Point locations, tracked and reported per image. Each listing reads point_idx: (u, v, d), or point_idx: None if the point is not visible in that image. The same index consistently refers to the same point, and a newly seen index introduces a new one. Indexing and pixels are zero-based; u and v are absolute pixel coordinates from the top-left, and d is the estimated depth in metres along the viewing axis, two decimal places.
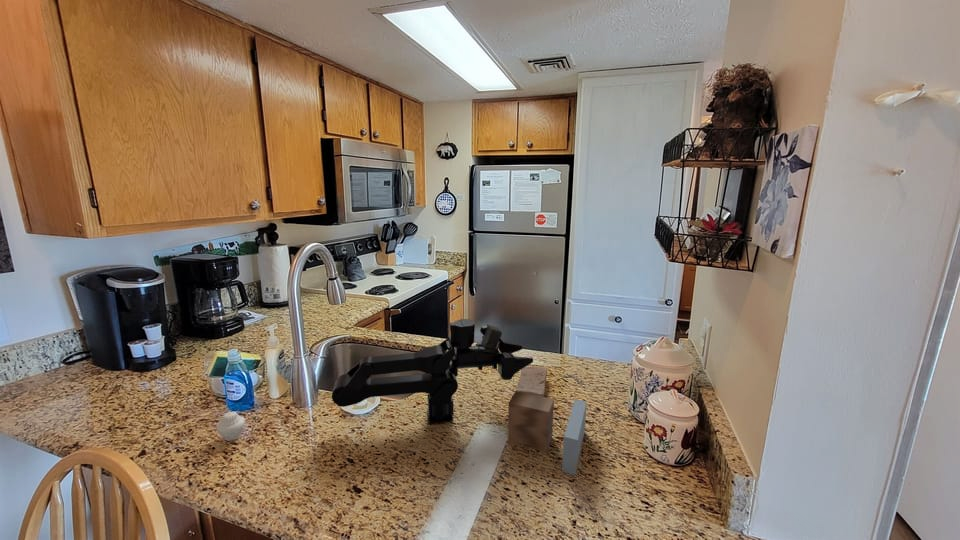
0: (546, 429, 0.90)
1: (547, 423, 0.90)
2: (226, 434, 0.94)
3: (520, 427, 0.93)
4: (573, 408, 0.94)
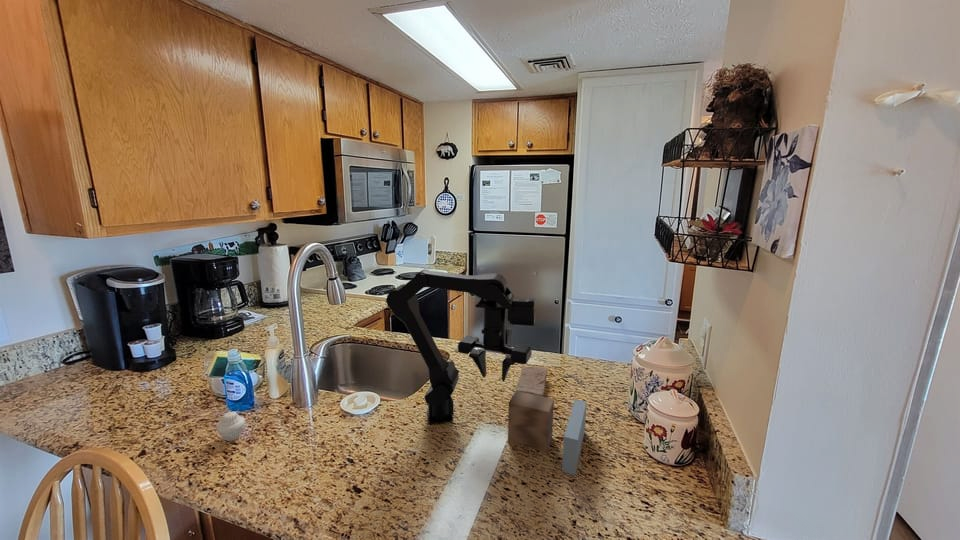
0: (546, 429, 0.90)
1: (547, 423, 0.90)
2: (226, 434, 0.94)
3: (520, 427, 0.93)
4: (573, 408, 0.94)
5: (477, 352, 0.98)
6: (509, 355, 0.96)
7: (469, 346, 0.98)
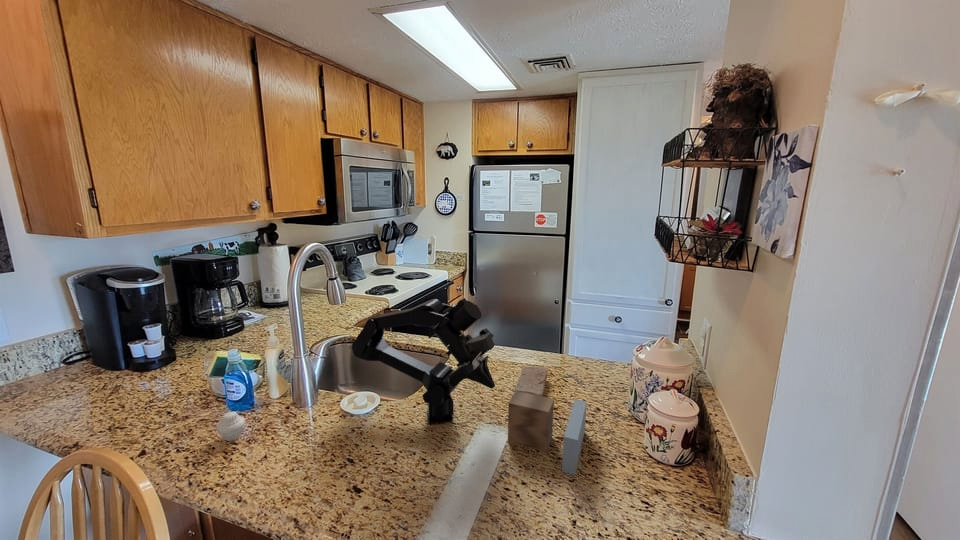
0: (546, 429, 0.90)
1: (547, 423, 0.90)
2: (226, 434, 0.94)
3: (520, 427, 0.93)
4: (573, 408, 0.94)
5: None
6: None
7: None
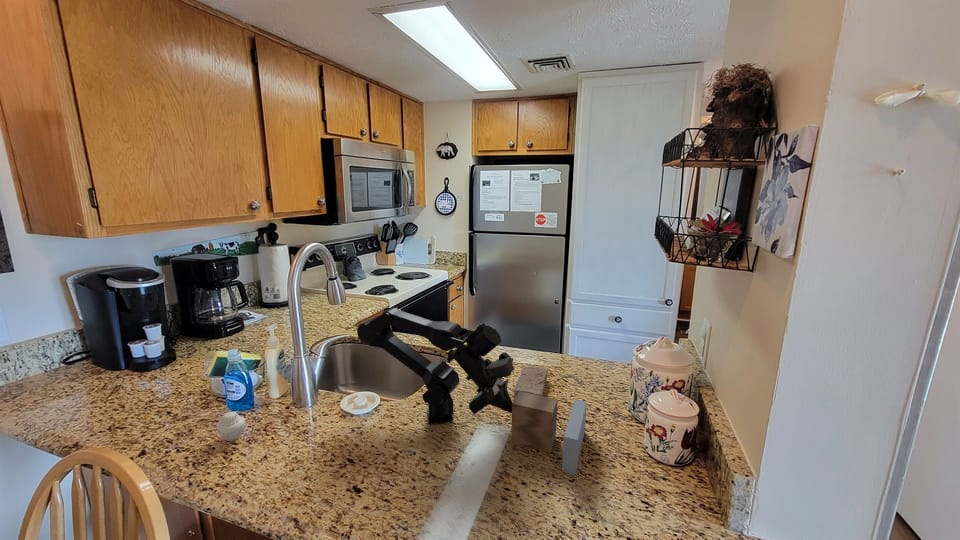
0: (550, 430, 0.90)
1: (551, 424, 0.90)
2: (226, 434, 0.94)
3: (523, 428, 0.93)
4: (573, 408, 0.94)
5: None
6: None
7: None
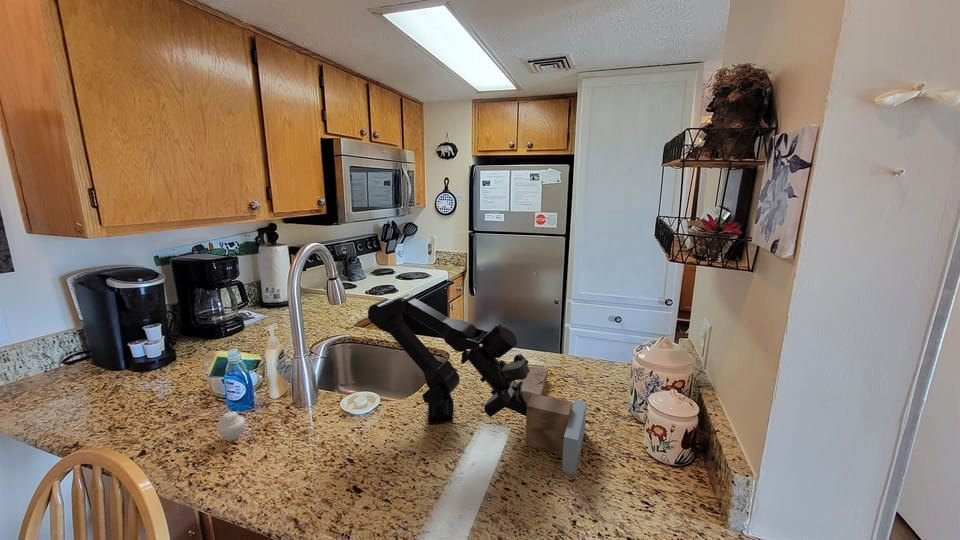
0: None
1: (566, 426, 0.89)
2: (226, 434, 0.94)
3: (538, 431, 0.92)
4: (573, 408, 0.94)
5: None
6: None
7: None
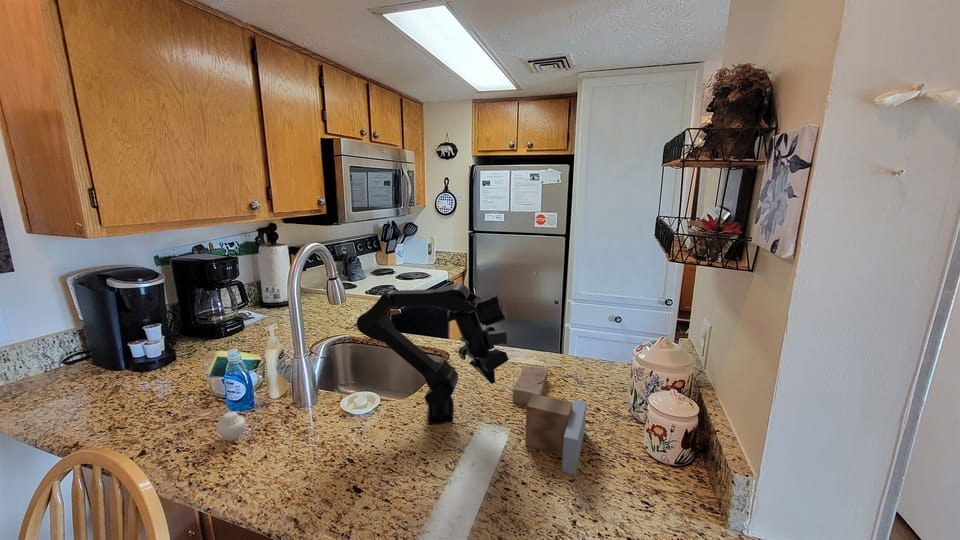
0: None
1: (566, 427, 0.89)
2: (226, 434, 0.94)
3: (538, 431, 0.92)
4: (573, 408, 0.94)
5: (473, 360, 1.00)
6: None
7: (462, 353, 1.03)
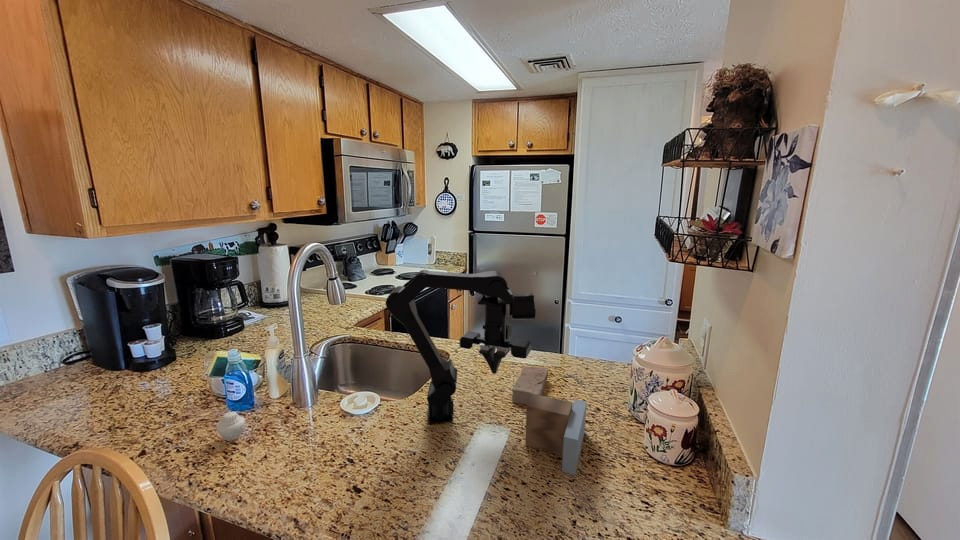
0: None
1: (566, 427, 0.89)
2: (226, 434, 0.94)
3: (538, 431, 0.92)
4: (573, 408, 0.94)
5: (487, 348, 1.00)
6: (500, 348, 1.00)
7: (471, 341, 1.01)
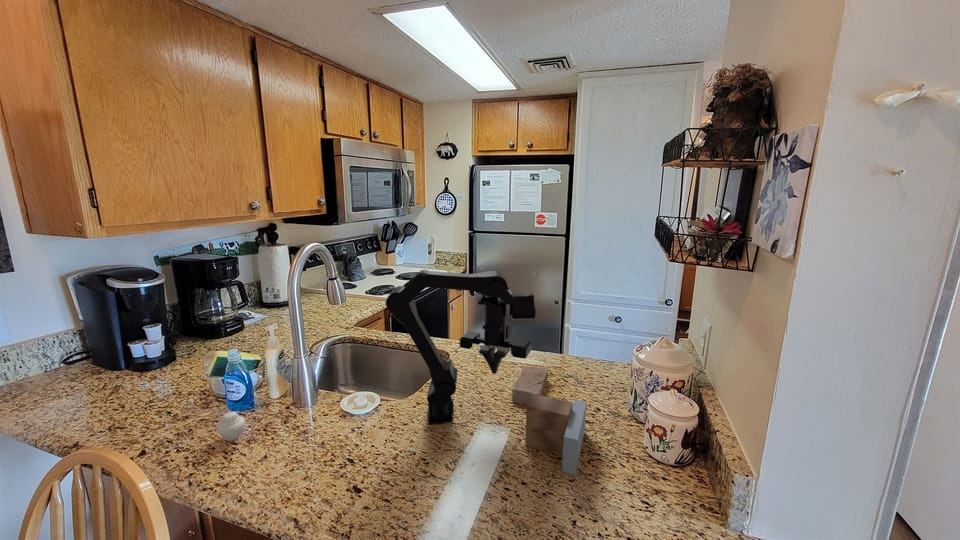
0: None
1: (566, 427, 0.89)
2: (226, 434, 0.94)
3: (538, 431, 0.92)
4: (573, 408, 0.94)
5: (487, 348, 1.00)
6: (500, 348, 1.00)
7: (471, 341, 1.01)
